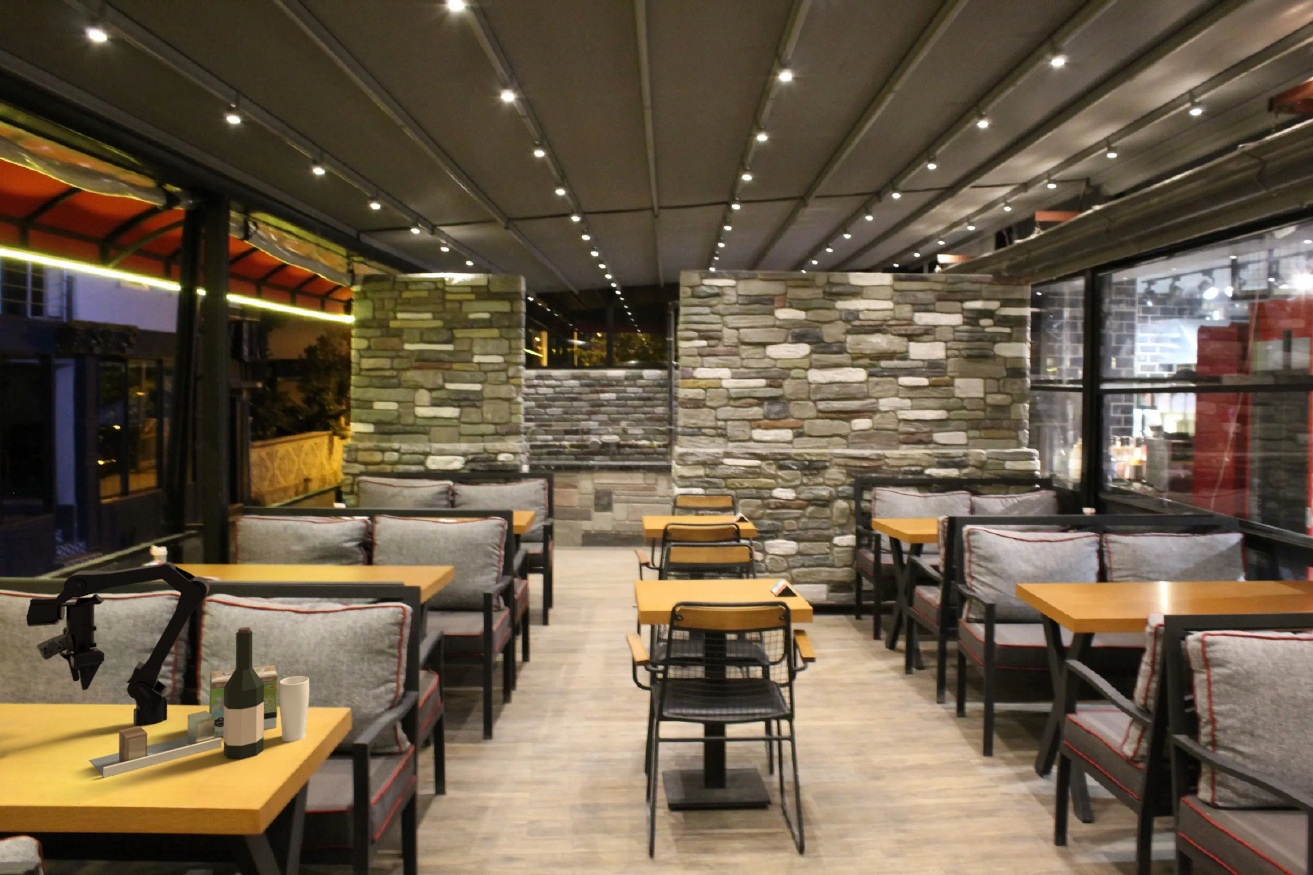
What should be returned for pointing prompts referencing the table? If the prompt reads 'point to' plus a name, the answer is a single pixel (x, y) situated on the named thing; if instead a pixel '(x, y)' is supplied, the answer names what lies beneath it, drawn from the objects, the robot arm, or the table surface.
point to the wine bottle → (243, 704)
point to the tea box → (270, 696)
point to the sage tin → (200, 727)
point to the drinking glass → (294, 707)
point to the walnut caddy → (132, 744)
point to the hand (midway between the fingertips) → (80, 685)
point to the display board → (153, 755)
